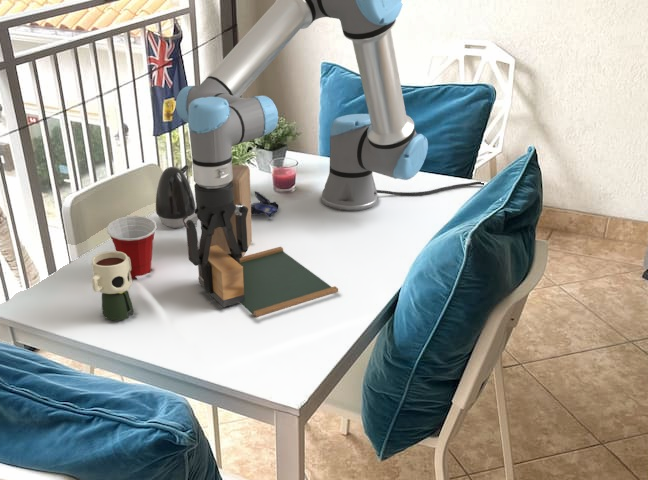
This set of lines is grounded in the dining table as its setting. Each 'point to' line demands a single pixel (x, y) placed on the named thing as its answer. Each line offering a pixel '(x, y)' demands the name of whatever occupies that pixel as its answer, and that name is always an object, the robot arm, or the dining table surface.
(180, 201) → the black egg-shaped piece
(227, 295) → the eraser
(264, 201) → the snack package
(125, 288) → the character mug
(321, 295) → the chalkboard
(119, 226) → the plastic cup
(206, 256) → the robot arm
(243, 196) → the block
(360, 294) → the dining table surface
